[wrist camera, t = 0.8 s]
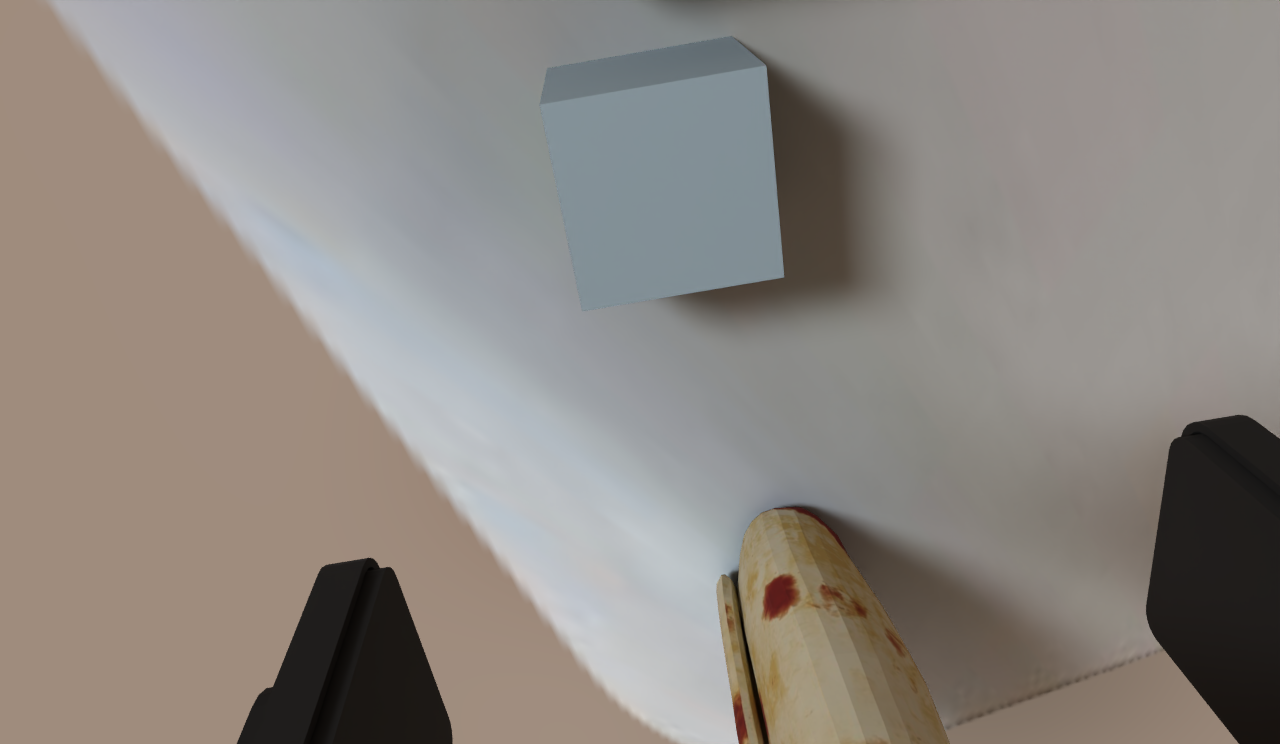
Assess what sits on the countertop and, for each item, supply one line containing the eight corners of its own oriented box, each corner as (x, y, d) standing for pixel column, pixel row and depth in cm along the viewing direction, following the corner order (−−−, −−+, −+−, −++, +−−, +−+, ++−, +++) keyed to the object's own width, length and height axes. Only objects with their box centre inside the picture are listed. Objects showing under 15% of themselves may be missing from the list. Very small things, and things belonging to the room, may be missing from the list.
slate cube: (547, 67, 28) (539, 104, 23) (731, 35, 28) (766, 65, 23) (582, 242, 31) (582, 311, 26) (749, 214, 31) (783, 277, 26)
